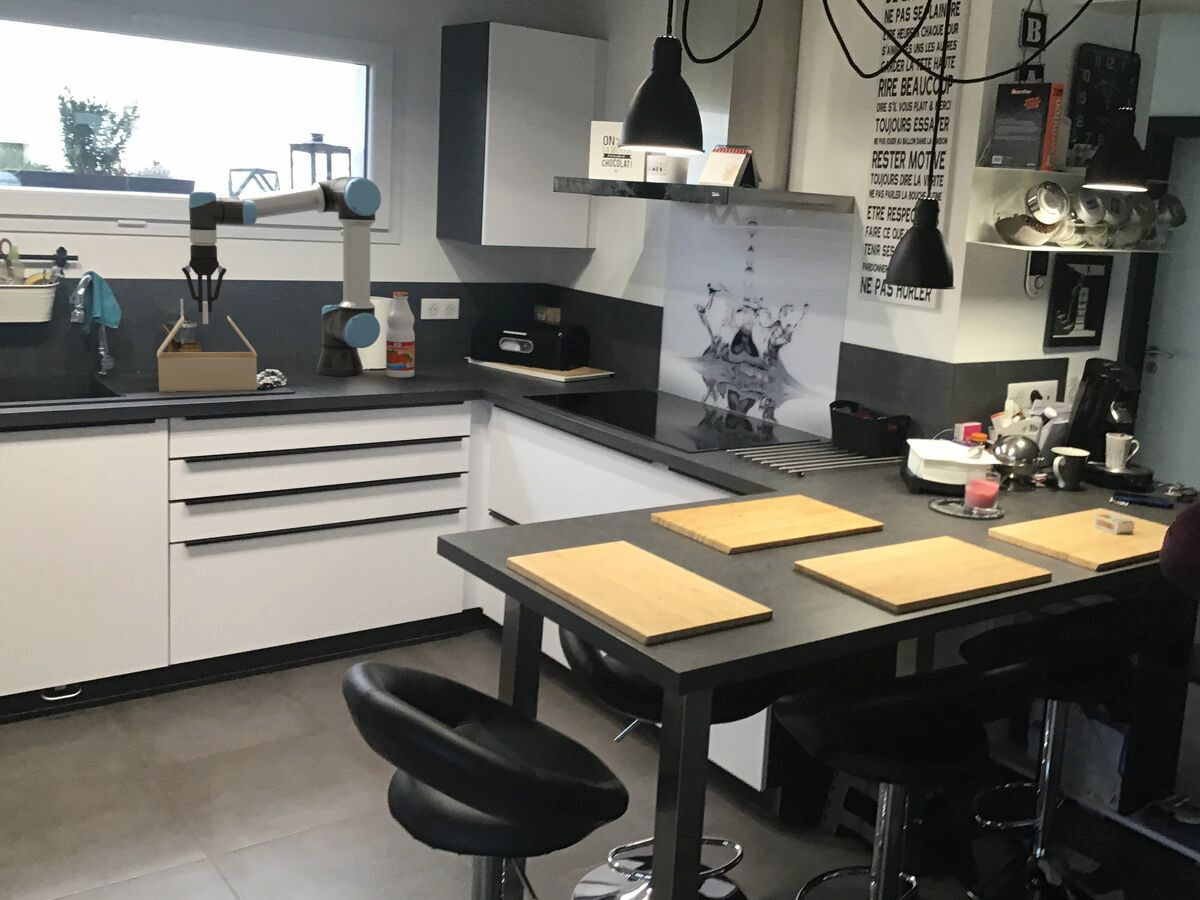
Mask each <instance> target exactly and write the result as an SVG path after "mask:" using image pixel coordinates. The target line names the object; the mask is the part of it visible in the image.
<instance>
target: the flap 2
mask: <svg viewBox="0 0 1200 900" xmlns="http://www.w3.org/2000/svg"><path fill="white" fill-rule="evenodd" d="M226 316H227V317H226V318H227V320H228V322H229V323H230V325H231V326H232V327H233V329H234V330H235V331H236V333H237V334H238V335H239V338H241V339H242V341H243V342H244V343H245V345H246V346H247V347H248V349H249V350H250V352H253V354H254V355H255V356H256V357H258V354H257V352H256V350H255V349H254V347H253V346H252V345H251V344H250V342H249V340H247V338H246V336H244V334H243V333H242V332H241V330H240V329H239V328H238V326H237V324H235V322H234V321H233V319H232V318H231V317H230V316H229V315H226Z"/></svg>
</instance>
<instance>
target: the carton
mask: <svg viewBox="0 0 1200 900" xmlns="http://www.w3.org/2000/svg"><path fill="white" fill-rule="evenodd" d="M257 361H258V360H257V356H255V355H254V354H253V352H252V351H233V352H232V351H229V352H226V351H219V352H218V351H217V352H215V351H212V352H211V351H210V352H209V351H207V352H206V351H205V352H203V351H202V352H185V353H178V352H174V353H168V352H162V353H161V355H160V356H159V357H157V371H158V392H159V393H178V392H177V391H202V392H236V391H235V390H246V391H245V392H249V390H254V392H255V391H258V375H257V374H258V369H257V368H258V366H257V363H258V362H257ZM247 390H248V391H247Z"/></svg>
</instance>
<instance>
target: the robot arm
mask: <svg viewBox="0 0 1200 900" xmlns="http://www.w3.org/2000/svg"><path fill="white" fill-rule="evenodd" d="M381 202H382V196H381V192H380V189H379V187H378V186H377V185H376V184H375V183H374V182H373V181H372V180H370V179H369V178H366V177H365V178H364V177H361V176H341V177H337V178H336V177H335V178H333V179H329V180H324V181H318V182H314V183H312V185H311V186H305V187H297V188H290V189H283V190H275V191H267V192H259V193H252V194H251V193H250V194H243V195H236V196H229V197H217V196H216V193H215V192H214V191H200V190H197V191H195V190H194V191H191V192H190V194H189V199H188V209H189V210H188V212H189V228H190V229H189V241H190V243H191V244H190V247H189V250H190V260H189V262H188V264H186V265H185V266H183V267H181V271H182V272H183V273H184V276H185V278H186V282H187V284H188V287H189V292H190V295H191V298H192V300H194V301H197V303H198V304H197V305H198V312H199V313H202V324H203V325H204V324H205V325H208V324H209V313H212V312H213V305H212V304H213V301H217V300H218V299H219V296H220V291H221V287H222V282H223V278H224V276H225V274H226V273H227V269H226V267H222V266H221V265H220V263H219V260H218V246H217V245H216V244H217V243H218V238H217V236H218V235H217V233H218V232H217V225H229V226H230V225H231V226H232V225H233V226H253V225H255V224H256V222H257V219H261V218H262V219H263V218H268V217H269V218H270V217H276V216H285V215H290V214H292V215H293V214H299V213H305V212H313V211H316V212H318V214H319V213H320V214H321V213H338V214H337V215H338V216H337V217H338V221H339V222H340V223H341V224H342V234H343V235H342V236H343V238H342V241H343V243H342V244H343V245H342V246H343V247H342V249H343V250H342V252H343V253H342V254H343V255H342V257H343V259H342V262H343V263H342V264H343V265H342V266H343V267H342V274H343V275H342V276H343V278H342V282H343V283H342V284H343V285H342V291H343V293H342V296H343V297H342V298H343V299H342V301H341V302H340V303H339V304H327V305H324V306H323V307H322V308H321V315H320V316H321V345H322V346H321V353H320V356H319V360H318V362H317V366H316V373H318V374H319V375H324V376H335V377H337V376H340V377H344V376H345V377H347V376H358V375H362V374H363V373H364V367H363V363H362V360H361V357H360V353H359V351H358V349H365V348H368V347H371V346H372V345H373V344H375V343H376V341H377V340H378V338H379V336H380V332H381V325H380V322H379V319H378V318H377V317H376V311H375V310H376V308H375V307H376V306H375V305H374V303H373V302H372V301H371V227H372V225H373V224H375V222H376V212H377V211H378V210H379V208H380V206H381V204H382V203H381ZM191 269H192V271H193V273H195V274H196V275H197V295H196V292H195V288H194V283H193V281H192V277H191V274H190V273H191ZM216 270H217V272H218V276H217V280H216V285H215V289H214V293H213V296H212V275H214V273H215V272H216ZM203 276H205V277H206V294H207V295H206V299H207V300H206V301H205V300H203V297H204V296H203Z"/></svg>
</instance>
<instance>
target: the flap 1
mask: <svg viewBox="0 0 1200 900" xmlns="http://www.w3.org/2000/svg"><path fill="white" fill-rule="evenodd" d="M184 322H185V316H184V315H182V316H181V317H180V318H179V319H178V321H177V322H176V324H175V325H174V327H173V328H172V330H171V331H170V334H169V335H168V336H167V337H165V339H164V341H163V342H162V344H161V345H160V347H159V348H158V349H157V352H156V353H157V354H156V358H158V357H159V356H160V355H161V353H164V350H165V349H166V347H168V345H169V343H170V341H171V339H172V338H173V336H174V337H175V335H176V333H177V332H178V331H179V330H180V328H181V327H182V325H183V324H184Z"/></svg>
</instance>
